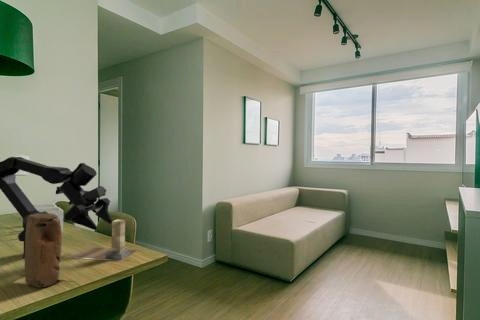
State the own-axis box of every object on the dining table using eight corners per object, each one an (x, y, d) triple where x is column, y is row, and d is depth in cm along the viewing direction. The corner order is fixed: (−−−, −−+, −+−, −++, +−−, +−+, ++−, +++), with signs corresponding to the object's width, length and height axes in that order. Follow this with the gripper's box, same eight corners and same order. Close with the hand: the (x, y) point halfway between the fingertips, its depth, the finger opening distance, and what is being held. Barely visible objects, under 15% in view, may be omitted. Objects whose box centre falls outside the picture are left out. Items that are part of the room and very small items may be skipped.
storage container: (63, 233, 132) (63, 210, 132) (34, 237, 125) (35, 213, 125) (53, 223, 150) (53, 203, 150) (27, 226, 143) (28, 205, 143)
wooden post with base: (105, 258, 97) (106, 222, 97) (114, 252, 103) (115, 218, 103) (121, 259, 96) (122, 222, 96) (130, 253, 102) (130, 219, 102)
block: (22, 280, 82) (23, 214, 82) (51, 272, 88) (52, 210, 88) (33, 292, 75) (34, 220, 75) (64, 283, 81) (65, 215, 81)
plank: (67, 262, 97) (67, 257, 97) (89, 250, 109) (89, 246, 109) (121, 265, 95) (121, 261, 95) (137, 253, 107) (137, 249, 107)
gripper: (72, 181, 91) (103, 216, 90) (106, 177, 110) (131, 206, 109) (50, 204, 92) (81, 239, 91) (87, 196, 111) (112, 225, 110)
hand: (104, 225), depth 100 cm, fingers open, 9 cm apart
